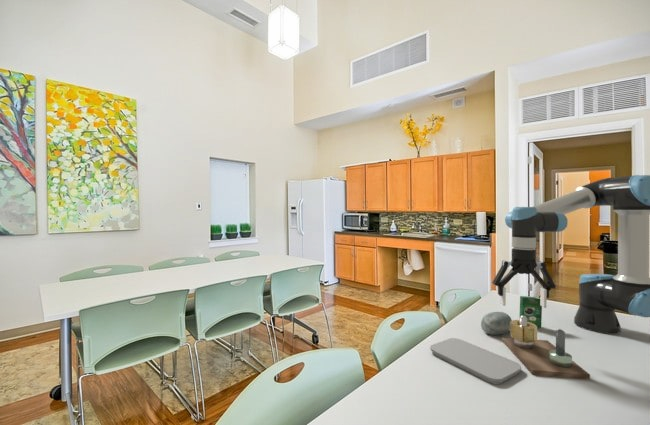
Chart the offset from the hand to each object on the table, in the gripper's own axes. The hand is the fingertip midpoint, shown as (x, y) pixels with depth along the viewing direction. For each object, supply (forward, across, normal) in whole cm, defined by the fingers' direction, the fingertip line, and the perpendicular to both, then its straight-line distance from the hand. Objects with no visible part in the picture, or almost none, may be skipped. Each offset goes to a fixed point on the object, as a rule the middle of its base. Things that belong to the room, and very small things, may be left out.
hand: (522, 305), depth 113 cm
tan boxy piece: (+12, 0, 0) cm, 12 cm away
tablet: (+17, +21, +12) cm, 29 cm away
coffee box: (+16, -13, -24) cm, 32 cm away
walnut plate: (+16, -3, +6) cm, 18 cm away
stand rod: (+15, 0, 0) cm, 15 cm away
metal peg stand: (+15, -6, +12) cm, 20 cm away
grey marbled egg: (+17, +4, -15) cm, 23 cm away
